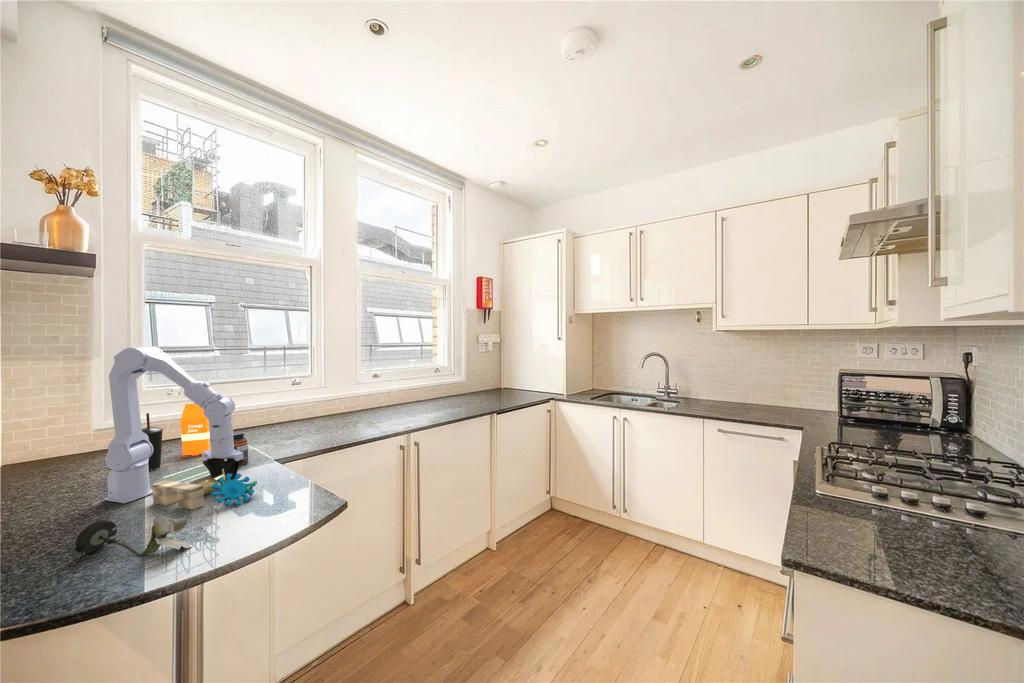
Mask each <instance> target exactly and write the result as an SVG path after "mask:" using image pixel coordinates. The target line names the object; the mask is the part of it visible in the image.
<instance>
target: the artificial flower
mask: <svg viewBox="0 0 1024 683" xmlns="http://www.w3.org/2000/svg"><path fill="white" fill-rule="evenodd" d="M189 522H190V518H189V517H186V518H183V519H174V518H173V519H172V517H163V518H158V519H157V518H156V519H153V523H152V524H153V525H152V527H151V537H150V540H149V542H148V544H147V546H146V547H145V549H144V551H143V552H142V553H140V552H137V550H135V549H133V548H132V547H131V546H130V545H128V544H126V543H124V542H120V541H119V539H116V538H112V537H113V536H116V534H117V533H118V528H117V524H116V523H115V522H113V521H112V520H109V519H99V520H97V521H94V522H92V523H90V524H89V525H87V527H85V528H84V529H83V530H82V531H81V532H80V533H79V534H78V535H77V537H76V539H75V547H74V550H75V551H76V552H77V554H79V553H85V554H91V552H92V553H93V552H95V551H97V550H100V549H102V548H104V546H105V543H106V544H108V545H111V544H114V545H115V544H116V545H118V546H121V547H123V548H125V549H126V550H128V551H129V552H131V553H132V554H133V555H135V556H136V557H143V555H144V556H147V555H149V554H154V553H156V552H157V551H159V548H160V547H161V546H164V547H165V548H171V549H176V550H177V551H178V550H180V549H181V548H182V547H183V548H184V549H190V547H189V546H190V545H189V544H190V543H188V542H187V541H185V540H181V539H178V538H175V537H167V535H169V534H177V533H180V532H181V531H182V530H183V529H185V527H186V525H187V524H188V523H189ZM187 543H188V544H187Z"/></svg>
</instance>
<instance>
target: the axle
mask: <svg viewBox="0 0 1024 683" xmlns="http://www.w3.org/2000/svg"><path fill="white" fill-rule="evenodd" d="M219 477H223V478H224V479H223V482H226V478H225V474H222V475H219V476H216V477H214V478H211V479H208V480H206V481H203V482H200V483H198V484H195V485H202V486H203V492H204V495H205V496H207V495H209V494H208V493H210V492H213V491H215V490H217V489H212V486H213V485H214V483H218V485H219V487H222V486H221V484H220V483H219V482H217V479H218V478H219ZM237 480H239V479H237ZM217 491H218V490H217ZM206 494H207V495H206ZM210 494H211V493H210Z"/></svg>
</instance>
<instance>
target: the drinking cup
mask: <svg viewBox="0 0 1024 683" xmlns="http://www.w3.org/2000/svg"><path fill="white" fill-rule="evenodd" d="M145 415H146V427H145V428H141V429H142V432H143V433H145V434H147V435H148V438H149V442H150V443H151V444H152V446H153V453H152V455H151V456H150V457H149V462H148V468H149V470H151V469H156V468H158V469H160V468H161V467H160V466H162V465H161V464H162V463H161V462H162V449H163V447H162V446H163V431H164V428H162V427H156V426H154V427H153V426H152V427H151V425H150V422H151V421H150V413H149V412H147V413H146V414H145ZM159 467H160V468H159ZM156 470H157V469H156Z"/></svg>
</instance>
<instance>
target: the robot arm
mask: <svg viewBox="0 0 1024 683" xmlns="http://www.w3.org/2000/svg"><path fill="white" fill-rule="evenodd" d="M113 361H114V364H112V367H111V369H110V372H109V374H108V379H109V391H110V399H111V400H110V401H111V406H112V407H111V410H112V417H113V418H112V420H113V425H114V426H113V427H114V435H115V436H114V437H113V438H112V439H111V441H110V443H108V445H107V454H106V455H105V458H104V461H105V465H106V466H107V467H108V469H111V470H110V471H109V472H108V474H107V492H108V493H107V494H108V496H107V497H104V500H105V501H109V502H113V503H115V502H116V503H120V504H127V503H130V502H132V501H135V500H138V499H141V498H144V497H147V496H149V495H153V491H152V488H151V485H150V484H151V483H150V473H149V472H150V471H149V468H148V462H149V457H150V456H151V455H152V453H153V446H152V444H151V443H150V442H149V438H148V435H147V434H145V433H143V432H142V429H143V428H142V420H141V411H140V402H139V392H138V384H137V383H138V382H137V379H139V378H140V377H141V376H143V374H145V373H146V372H152V373H153V372H154V373H155V372H156V373H160V374H162V375H163V376H164V377H166V378H167V379H168V380H171V381H172V382H173V383H175V384H176V385H178V386H179V387H181V388H182V390H184V392H183V394H184V396H185V397H187V399H189V400H190V401H191V402H193V403H195V404H197V405H198V406H199V407H200V408H202V409H204V411H203V413H204V416H205V417H206V418H207V419H208V421H209V435H210V450H207V451H203V452H202V458H203V459H205V460H203V461H202V465H203V464H204V465H205V466H206V467H207V471H209V472H210V474H211V477H212V478H214V477H216V476H219V475H222V474H223V470H224V473H225V478H226V475H227V474H232V476H231V478H230V480H233V479H235V476H236V474H237V473H238V471H239V468H240V467H241V466H240V464H241V462H242V461H243V459H244V457H243V453H242V452H239V451H236V450H234V441H233V433H234V430H233V429H234V428H233V427H234V426H233V414H232V413H233V412H234V411H235V408H236V404H235V401H234V400H232V398H230V397H228V396H223V395H224V394H222V393H218V392H217V391H215V389H213V388H212V387H211V384H210V383H209V382H208V381H207V382H205V381H202V380H197V381H196V380H195V379H194V378H193V377H191V375H189V374H188V373H187V372H186V371H185V370H184V369H183V368H182V367H180V366H179V365H178V364H177V363H176V362H174V360H173V359H172V358H171V357H170V355H169V354H167V353H166V352H164V351H163V350H162V349H161V348H160V347H157V346H147V347H144V346H143V347H126V348H124V349H122V350H120V352H118V353H116V354H115V355H114V356H113ZM206 458H207V459H206ZM226 482H227V479H226Z"/></svg>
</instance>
